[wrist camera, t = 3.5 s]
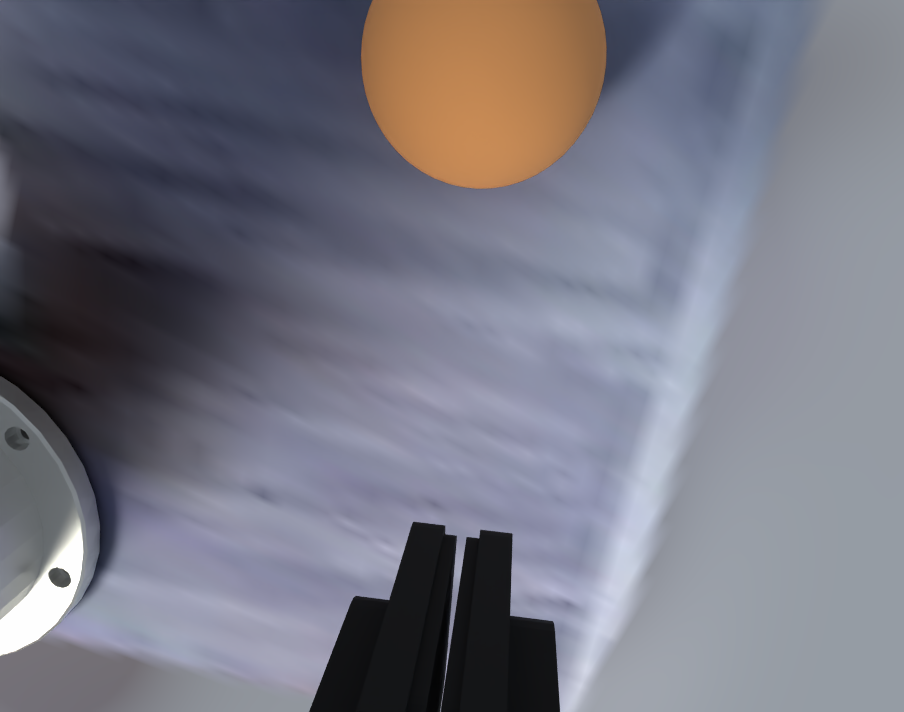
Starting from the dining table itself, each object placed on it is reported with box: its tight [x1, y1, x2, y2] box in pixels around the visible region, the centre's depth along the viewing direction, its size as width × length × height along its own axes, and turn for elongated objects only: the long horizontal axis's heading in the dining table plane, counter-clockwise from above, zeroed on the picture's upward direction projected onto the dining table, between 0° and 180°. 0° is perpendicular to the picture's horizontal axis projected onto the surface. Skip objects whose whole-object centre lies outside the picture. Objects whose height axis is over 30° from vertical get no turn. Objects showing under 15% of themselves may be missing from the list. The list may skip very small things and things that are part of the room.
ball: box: [361, 0, 607, 189], centre depth 17 cm, size 6×6×6 cm
